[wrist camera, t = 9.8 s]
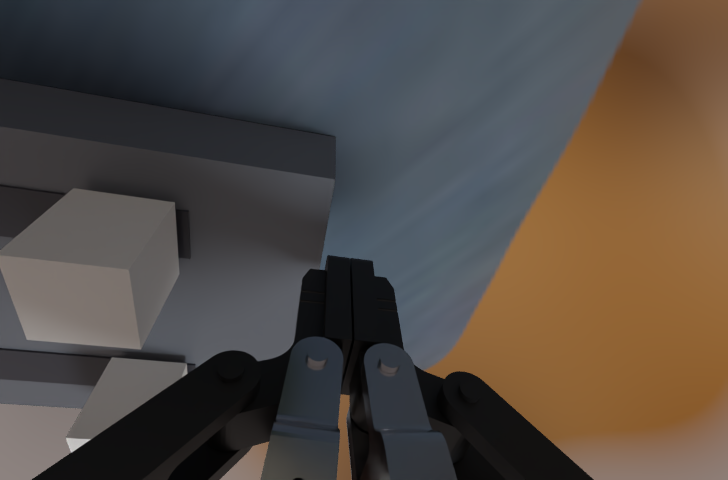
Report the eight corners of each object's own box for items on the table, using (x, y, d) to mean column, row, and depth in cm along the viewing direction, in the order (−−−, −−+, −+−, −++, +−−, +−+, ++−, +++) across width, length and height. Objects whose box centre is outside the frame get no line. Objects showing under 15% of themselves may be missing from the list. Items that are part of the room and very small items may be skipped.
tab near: (89, 263, 14) (26, 339, 11) (73, 188, 13) (-5, 254, 10) (179, 273, 15) (140, 349, 12) (174, 202, 13) (128, 269, 10)
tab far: (121, 400, 19) (81, 480, 16) (111, 357, 17) (65, 438, 14) (189, 404, 19) (163, 483, 16) (186, 363, 17) (156, 442, 14)
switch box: (-86, 326, 21) (-167, 395, 18) (-256, 33, 13) (-454, 56, 10) (298, 359, 24) (292, 423, 21) (335, 137, 17) (335, 181, 13)
